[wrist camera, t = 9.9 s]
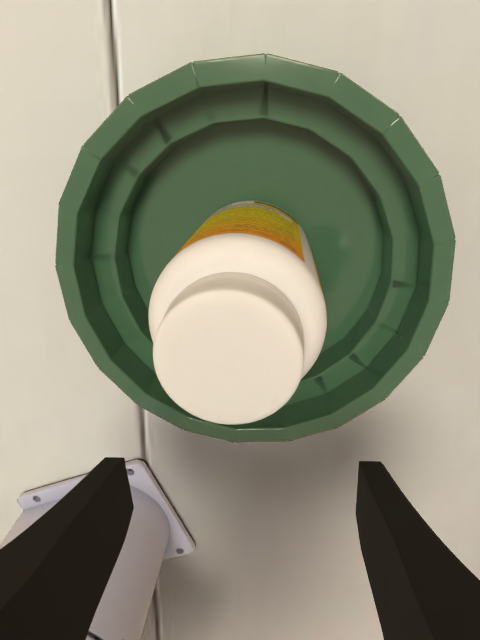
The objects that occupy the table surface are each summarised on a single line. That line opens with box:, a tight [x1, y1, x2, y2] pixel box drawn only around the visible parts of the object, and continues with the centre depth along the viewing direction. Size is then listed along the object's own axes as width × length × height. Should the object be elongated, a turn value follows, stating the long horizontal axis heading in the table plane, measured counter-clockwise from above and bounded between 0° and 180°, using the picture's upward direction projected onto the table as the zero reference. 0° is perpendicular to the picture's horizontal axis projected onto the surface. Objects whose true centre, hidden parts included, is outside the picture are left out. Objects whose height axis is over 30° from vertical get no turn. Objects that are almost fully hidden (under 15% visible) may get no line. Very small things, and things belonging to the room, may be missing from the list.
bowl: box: [55, 53, 456, 442], centre depth 19 cm, size 16×16×4 cm
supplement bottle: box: [148, 201, 327, 425], centre depth 16 cm, size 6×6×10 cm
